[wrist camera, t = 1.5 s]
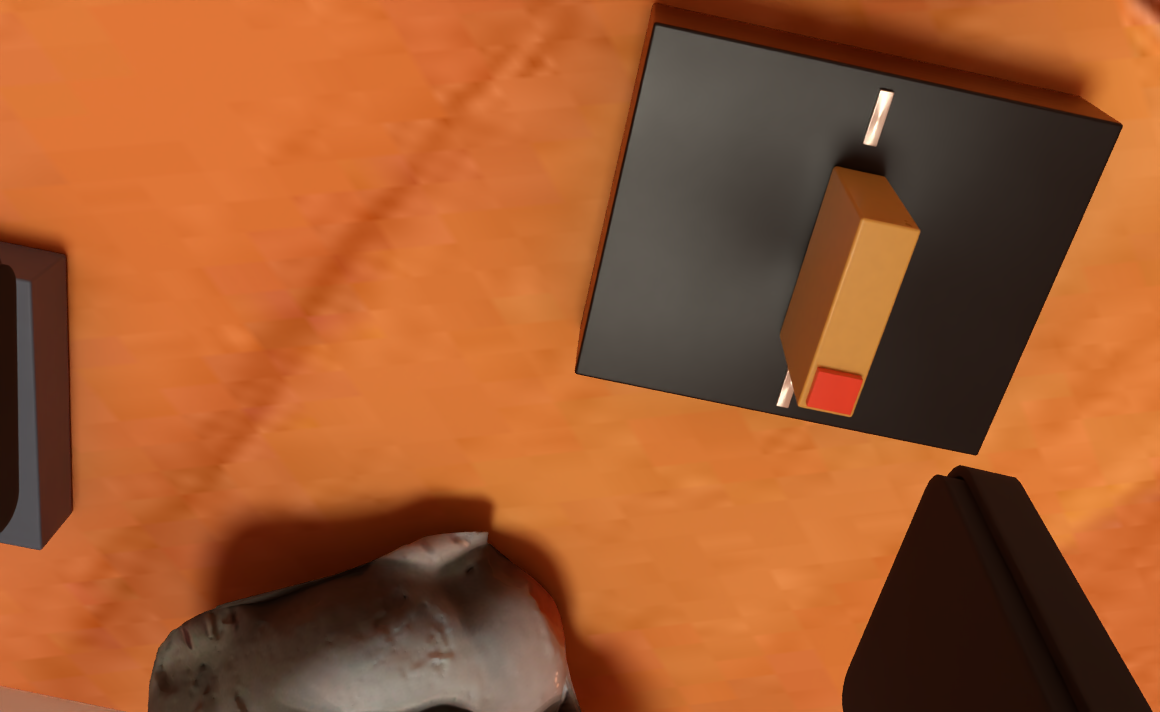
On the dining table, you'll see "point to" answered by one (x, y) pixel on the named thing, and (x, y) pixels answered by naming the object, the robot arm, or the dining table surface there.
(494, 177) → the dining table surface
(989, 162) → the plate
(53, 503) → the push button box
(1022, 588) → the robot arm
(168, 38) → the dining table surface
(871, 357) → the thumbturn
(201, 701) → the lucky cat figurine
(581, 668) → the dining table surface
